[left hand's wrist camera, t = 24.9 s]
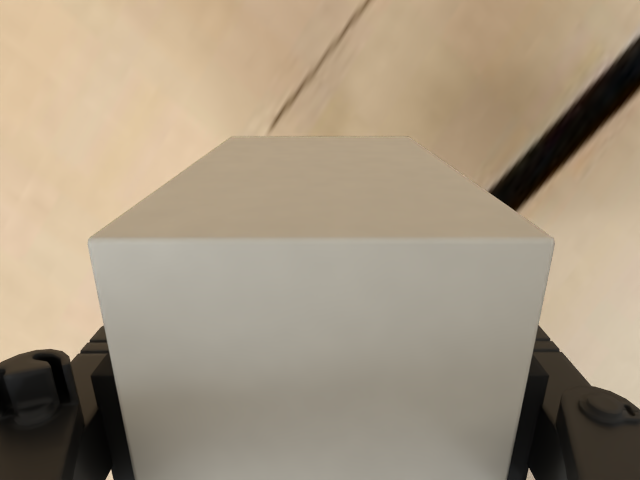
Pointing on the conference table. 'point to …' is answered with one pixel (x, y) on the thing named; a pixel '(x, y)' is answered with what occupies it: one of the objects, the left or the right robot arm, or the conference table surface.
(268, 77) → the conference table surface
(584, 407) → the left robot arm
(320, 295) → the brick
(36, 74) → the conference table surface
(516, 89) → the conference table surface
